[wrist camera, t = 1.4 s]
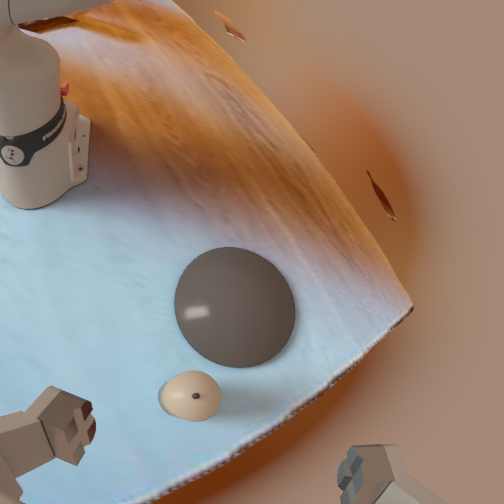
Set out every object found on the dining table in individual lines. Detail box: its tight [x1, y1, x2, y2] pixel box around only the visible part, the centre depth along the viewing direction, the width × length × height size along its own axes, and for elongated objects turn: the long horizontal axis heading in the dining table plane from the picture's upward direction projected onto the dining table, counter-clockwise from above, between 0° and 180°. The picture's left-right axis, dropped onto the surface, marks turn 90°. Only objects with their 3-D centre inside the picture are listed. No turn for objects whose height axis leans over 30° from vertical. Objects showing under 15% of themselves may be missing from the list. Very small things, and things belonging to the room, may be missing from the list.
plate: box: [174, 247, 295, 368], centre depth 46 cm, size 18×18×1 cm
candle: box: [158, 371, 221, 422], centre depth 32 cm, size 5×5×13 cm
